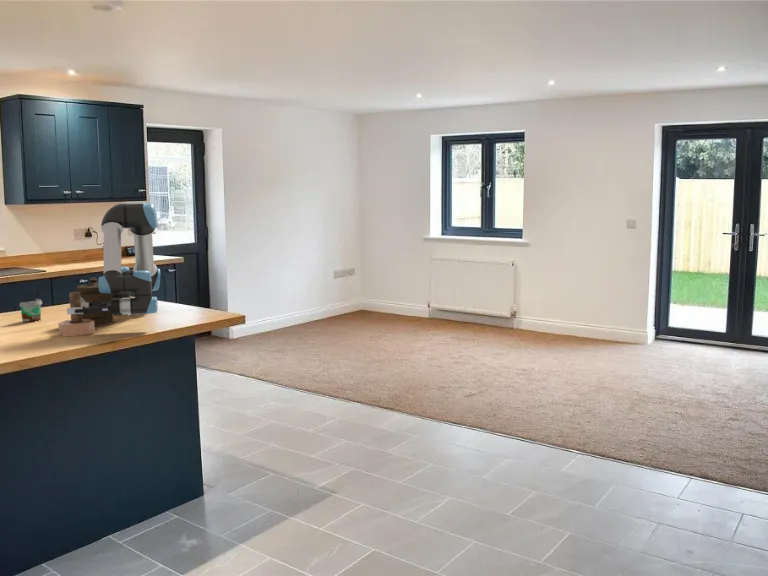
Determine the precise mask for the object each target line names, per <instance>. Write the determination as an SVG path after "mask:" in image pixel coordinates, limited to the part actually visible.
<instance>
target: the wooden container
mask: <svg viewBox="0 0 768 576" xmlns="http://www.w3.org/2000/svg"><path fill="white" fill-rule="evenodd" d="M76 292H80V298H81V303H87V302H92V301H93V302H111V294H107V293H100V291H99V284H98V278H96V277H95V276H94V277H93V276H92V277H90V278H89V283H88V284H87V283H86V284H81V285H77V286H76ZM113 316H114V315H112V313H111V310H110V311H108V312H103V313H93V314H86V315H85V314H82V319H91V320H94V325H95V327H99V326H100V325H101V326H105V325H106V324H107V325H110V323H111V324H113V322H114V319H113Z"/></svg>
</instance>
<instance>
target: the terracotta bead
mask: <svg viewBox="0 0 768 576" xmlns="http://www.w3.org/2000/svg"><path fill="white" fill-rule="evenodd" d="M95 327H96V326H95V325H94V320H91V319H82V322H81V323H71V319H67V320H63V321H61V322H58V334H59V335H60V334H61V335H60V336H63V337H78V336H77V335H80V336H85V335H84V334H87V335H90V333H91V334H93V333H95V332H96V328H95ZM94 331H95V332H94ZM92 332H93V333H92Z"/></svg>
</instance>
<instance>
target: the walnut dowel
mask: <svg viewBox="0 0 768 576" xmlns="http://www.w3.org/2000/svg"><path fill="white" fill-rule="evenodd" d="M68 297H69V308H76V307H81V298H80V292H77V291H72V292H69V295H68ZM70 320H71V323H81V322H82V314H70Z"/></svg>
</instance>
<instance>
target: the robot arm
mask: <svg viewBox="0 0 768 576" xmlns="http://www.w3.org/2000/svg"><path fill="white" fill-rule="evenodd" d="M158 221H159V220H158V215H157V209H156V206H155V205H154V204H153V203H146V202H144V203H117V204H115V205H113V206H112V207H111V208H109V209H108V210H107V211H106V213H105V214H104V216H103V217H102V220H101V224H100V226H101V227H100V229H101V232H102V233H103V276H99V277H98V279H97V283H98V284H99V291H100V293H107V294H111V302H93V301H92V302H87V303H81V307H76V308H70V307H66V315H71V314H85V315H86V314H93V313H103V312H108V311H110V310H111V313H112V315H113V316H120V315H123V316H126V315H127V316H130V315H148V314H149V315H150V314H156V313H158V309H159V306H158V298H157V296H154V295H153V292H154V291H156V292H157V291H159V288H160V283H161V269H160V268H158V266H157V265H156V264H155V263H154V247H153V246H154V244H153V233H154V232H155V230H156V229H157V228H158V227H159V223H158ZM124 229H129V231H130V232H131V233H132V234H133V242H134V243H133V244H134V256H135V265H134V266H133V269H130V268H129V266H122V233H123V232H124ZM131 293H133V294H134V297H131Z"/></svg>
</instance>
